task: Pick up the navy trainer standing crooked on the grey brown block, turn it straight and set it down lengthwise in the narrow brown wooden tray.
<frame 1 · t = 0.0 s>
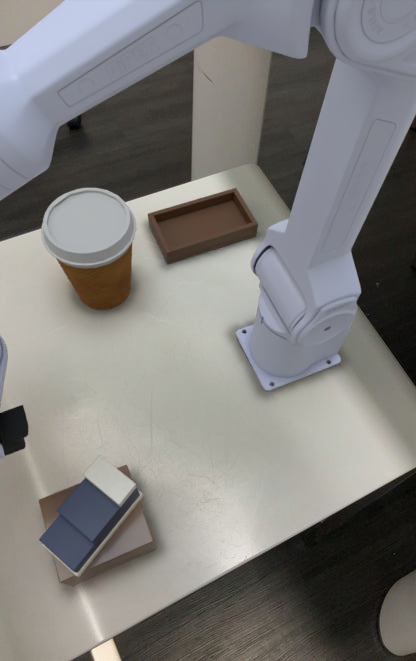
hand: (2, 407, 43), 10 cm above the table, tool pointing down, fingers open, 7 cm apart
grey brown block: (103, 529, 48), on the table
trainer: (94, 520, 44), point 5 cm above the table, touching grey brown block
brown wooden tray: (202, 230, 66), on the table
disposable coffee cup: (104, 288, 61), on the table
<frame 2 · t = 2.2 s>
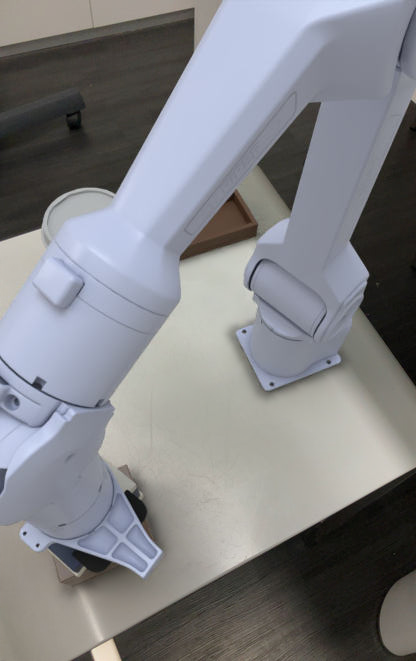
hand: (93, 518, 43), 6 cm above the table, tool pointing down, fingers closed on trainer, 4 cm apart
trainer: (95, 520, 44), point 5 cm above the table, touching gripper, grey brown block
everything else where it was.
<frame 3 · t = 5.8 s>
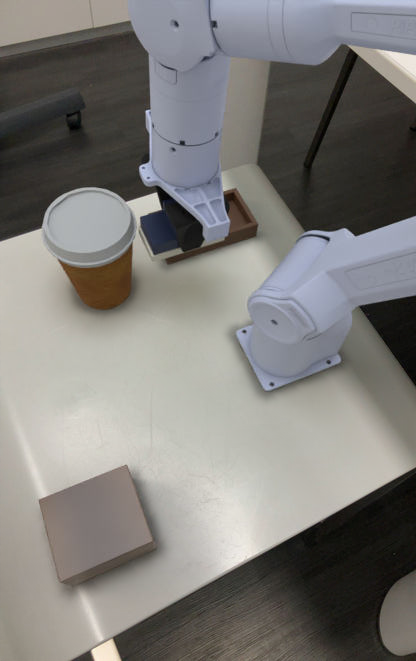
hand: (182, 230, 52), 10 cm above the table, tool pointing down, fingers closed on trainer, 4 cm apart
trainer: (181, 236, 53), point 10 cm above the table, touching gripper
everything else where it was.
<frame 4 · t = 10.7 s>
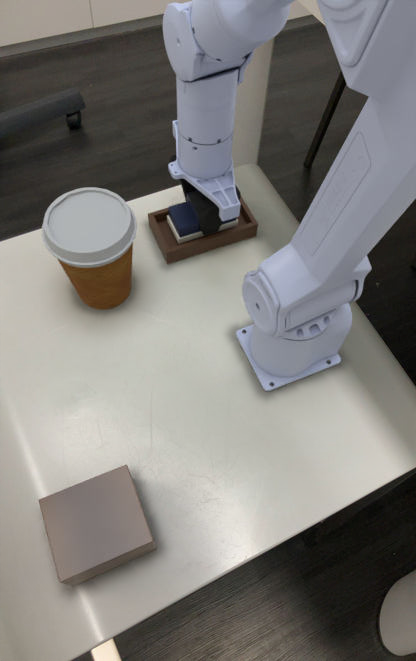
hand: (203, 218, 64), 2 cm above the table, tool pointing down, fingers closed on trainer, 4 cm apart
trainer: (202, 223, 65), point 2 cm above the table, touching gripper
everything else where it was.
when the fingers open (4 cm above the table, at t = 17.5 s): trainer drops 2 cm, resting on brown wooden tray.
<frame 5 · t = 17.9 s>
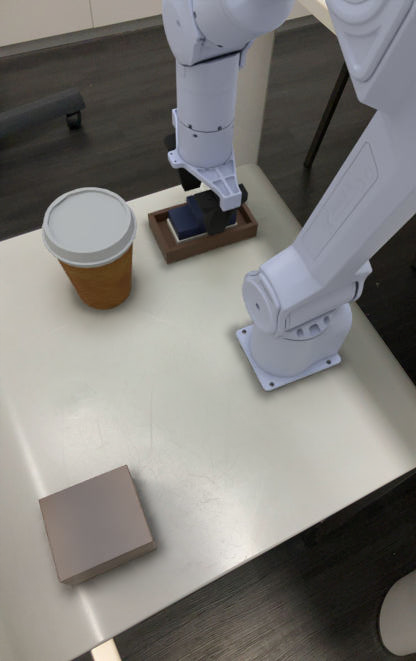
hand: (203, 209, 63), 4 cm above the table, tool pointing down, fingers open, 7 cm apart
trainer: (201, 226, 65), point 1 cm above the table, touching brown wooden tray
everything else where it was.
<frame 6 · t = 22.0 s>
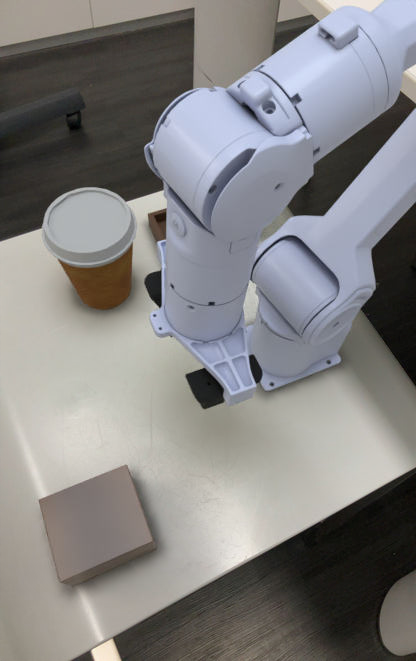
hand: (195, 365, 46), 9 cm above the table, tool pointing down, fingers open, 7 cm apart
nothing on the table moved.
at the end: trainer 0.1 cm off-centre in the brown wooden tray, point 0.8 cm above the brown wooden tray's base; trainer tilted 0°; the gripper is holding nothing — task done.
